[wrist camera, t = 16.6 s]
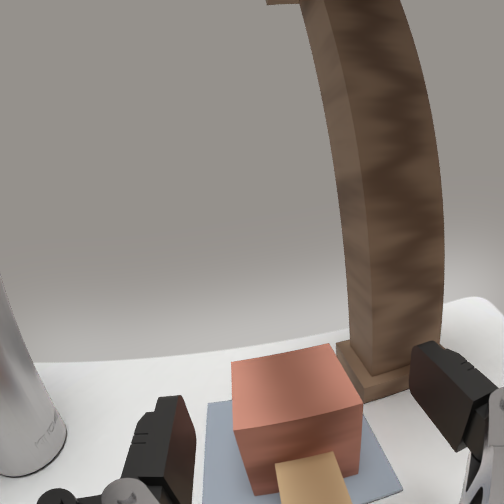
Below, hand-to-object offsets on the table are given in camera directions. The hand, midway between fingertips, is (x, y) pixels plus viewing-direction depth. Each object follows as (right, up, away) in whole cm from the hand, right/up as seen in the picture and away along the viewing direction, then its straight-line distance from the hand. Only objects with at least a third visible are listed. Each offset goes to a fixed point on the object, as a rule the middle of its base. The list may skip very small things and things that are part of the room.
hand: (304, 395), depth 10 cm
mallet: (+2, -9, +2) cm, 9 cm away
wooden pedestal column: (+10, -5, +13) cm, 17 cm away
